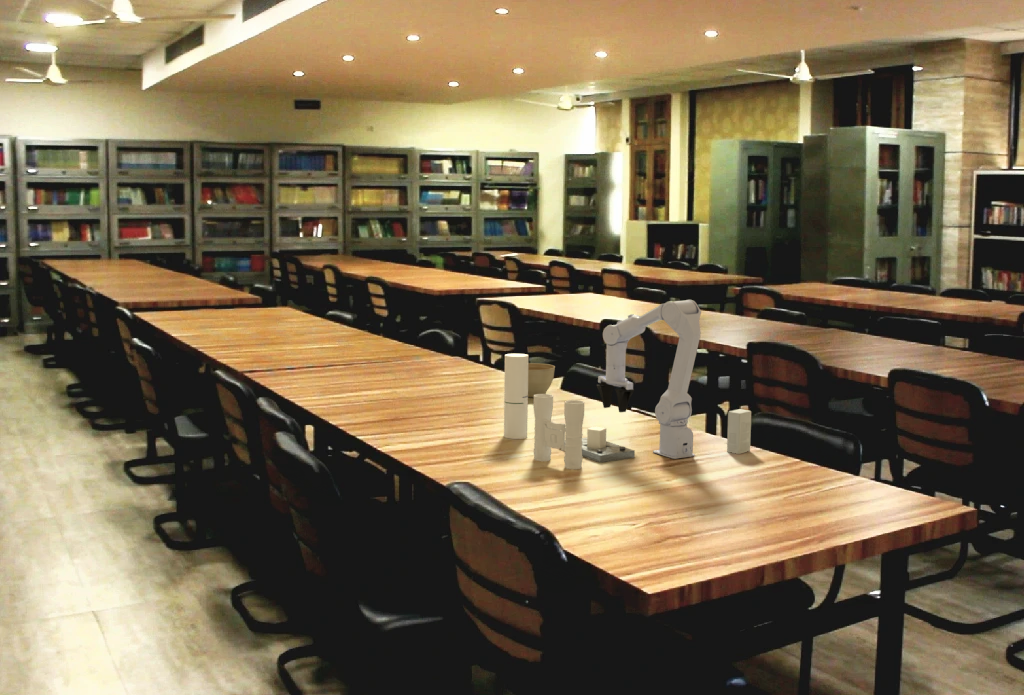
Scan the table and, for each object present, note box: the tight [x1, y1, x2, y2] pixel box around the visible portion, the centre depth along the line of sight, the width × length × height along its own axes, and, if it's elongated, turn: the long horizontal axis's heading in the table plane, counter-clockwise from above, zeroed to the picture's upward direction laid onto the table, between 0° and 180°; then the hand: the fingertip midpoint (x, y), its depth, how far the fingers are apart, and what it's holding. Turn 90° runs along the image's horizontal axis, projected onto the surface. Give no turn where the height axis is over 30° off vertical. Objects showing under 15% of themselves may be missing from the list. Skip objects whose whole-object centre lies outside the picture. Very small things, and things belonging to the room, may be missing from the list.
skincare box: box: [726, 408, 752, 455], centre depth 308 cm, size 6×4×12 cm
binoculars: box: [533, 393, 586, 470], centre depth 291 cm, size 17×5×18 cm, turn 43°
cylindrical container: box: [503, 353, 529, 440], centre depth 323 cm, size 7×7×25 cm
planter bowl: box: [528, 362, 556, 398], centre depth 392 cm, size 16×16×11 cm
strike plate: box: [582, 437, 636, 463], centre depth 305 cm, size 20×12×3 cm, turn 32°
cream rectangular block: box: [586, 426, 607, 449], centre depth 305 cm, size 4×4×7 cm
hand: (614, 409), depth 320 cm, fingers open, 7 cm apart
